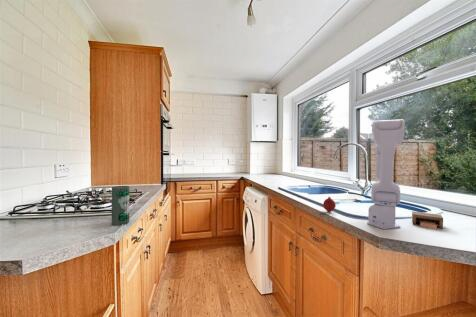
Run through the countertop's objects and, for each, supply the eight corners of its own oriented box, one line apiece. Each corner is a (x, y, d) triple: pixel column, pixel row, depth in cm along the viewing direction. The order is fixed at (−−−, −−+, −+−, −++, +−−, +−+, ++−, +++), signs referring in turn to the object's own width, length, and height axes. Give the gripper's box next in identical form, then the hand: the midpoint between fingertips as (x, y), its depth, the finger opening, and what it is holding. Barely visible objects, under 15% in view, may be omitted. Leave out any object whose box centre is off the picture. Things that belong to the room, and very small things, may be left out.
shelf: (442, 228, 88) (443, 218, 88) (412, 224, 93) (412, 214, 93) (440, 225, 93) (440, 214, 92) (412, 220, 98) (412, 211, 98)
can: (124, 225, 87) (124, 188, 87) (108, 225, 87) (109, 188, 87) (131, 220, 93) (131, 185, 93) (116, 220, 93) (116, 185, 93)
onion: (336, 214, 109) (336, 198, 108) (324, 213, 110) (324, 197, 110) (333, 211, 114) (334, 195, 114) (322, 210, 115) (322, 195, 115)
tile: (436, 230, 87) (436, 225, 87) (420, 227, 90) (420, 223, 90) (434, 226, 92) (434, 222, 92) (419, 224, 95) (419, 219, 95)
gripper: (392, 169, 97) (392, 200, 97) (393, 168, 108) (393, 195, 109) (374, 169, 101) (373, 198, 101) (377, 167, 113) (376, 193, 113)
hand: (382, 196), depth 105 cm, fingers closed
